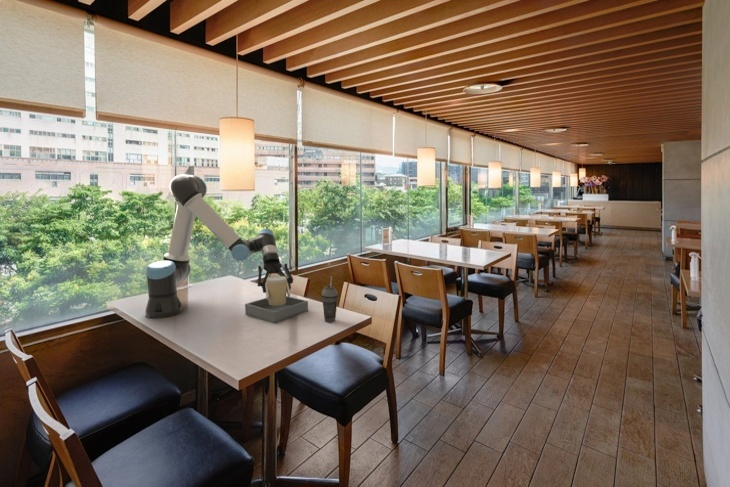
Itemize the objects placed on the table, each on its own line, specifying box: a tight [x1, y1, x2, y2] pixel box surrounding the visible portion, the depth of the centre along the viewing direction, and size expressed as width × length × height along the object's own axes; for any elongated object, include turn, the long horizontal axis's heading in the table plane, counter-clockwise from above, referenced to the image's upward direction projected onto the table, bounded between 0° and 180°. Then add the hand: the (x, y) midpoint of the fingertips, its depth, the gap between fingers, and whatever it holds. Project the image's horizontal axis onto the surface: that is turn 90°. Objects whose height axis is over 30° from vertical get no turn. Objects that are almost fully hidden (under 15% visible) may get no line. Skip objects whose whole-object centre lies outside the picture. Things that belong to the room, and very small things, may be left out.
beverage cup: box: [321, 275, 339, 324], centre depth 162 cm, size 7×7×20 cm
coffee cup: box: [266, 275, 288, 306], centre depth 172 cm, size 9×9×12 cm
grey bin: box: [244, 295, 309, 324], centre depth 173 cm, size 20×20×5 cm
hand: (278, 296), depth 170 cm, fingers closed on coffee cup, 9 cm apart
